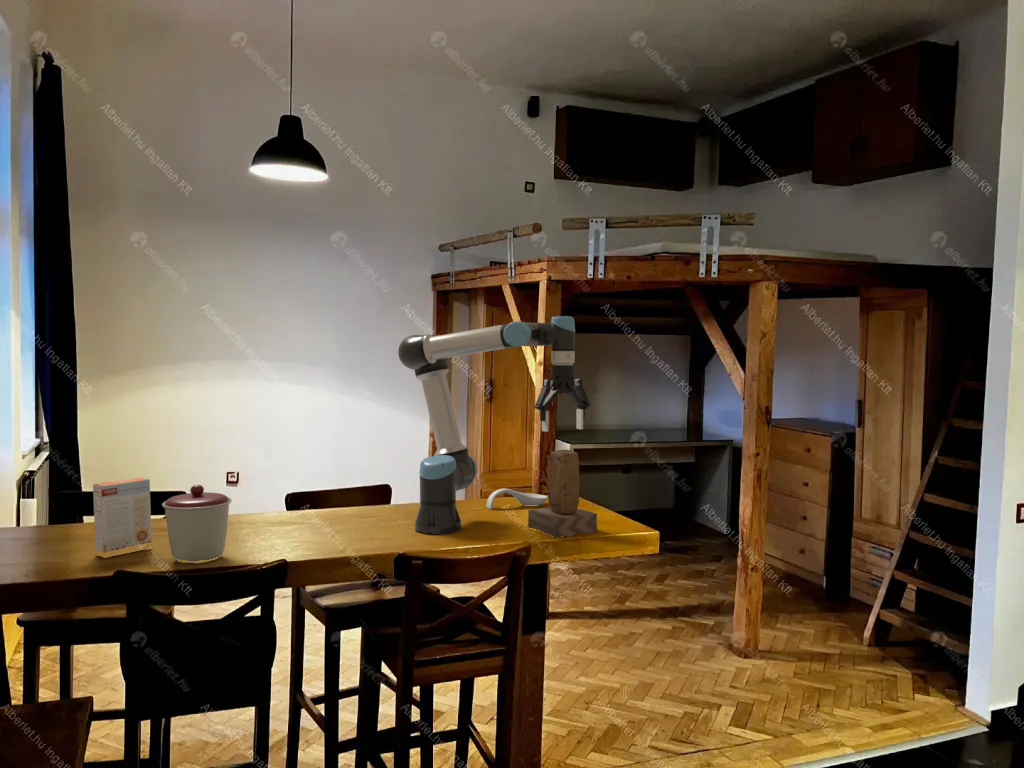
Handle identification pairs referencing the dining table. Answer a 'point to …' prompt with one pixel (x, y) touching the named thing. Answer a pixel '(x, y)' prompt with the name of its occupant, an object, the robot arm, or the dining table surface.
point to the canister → (197, 524)
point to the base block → (562, 522)
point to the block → (563, 481)
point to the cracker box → (122, 514)
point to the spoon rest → (518, 497)
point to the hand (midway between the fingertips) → (562, 430)
